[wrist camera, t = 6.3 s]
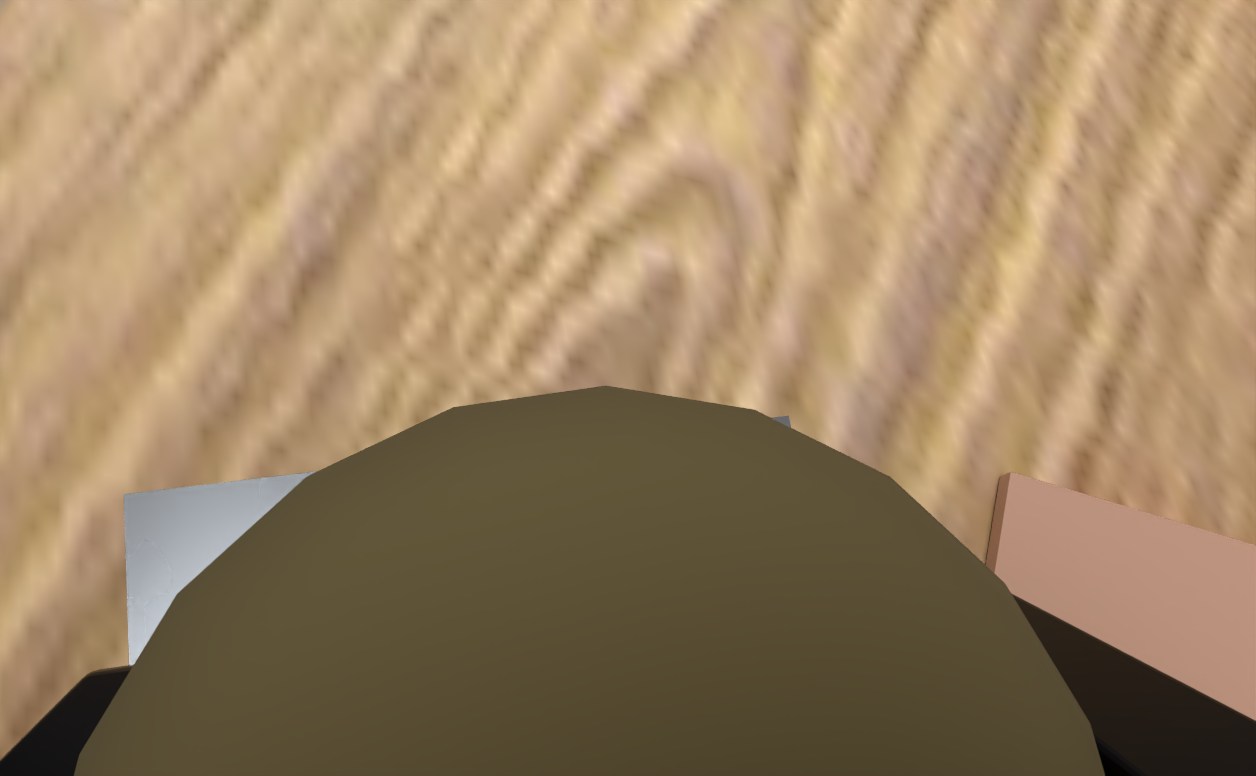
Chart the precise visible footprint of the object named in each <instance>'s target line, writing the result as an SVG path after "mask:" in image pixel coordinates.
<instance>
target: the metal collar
mask: <svg viewBox="0 0 1256 776" xmlns="http://www.w3.org/2000/svg"><path fill="white" fill-rule="evenodd" d="M772 419H774V420H776V421H778V422H780V423H782V424H784V425H786V426H788V427H790V428H791V426H790V421H789V416H784V417H775V418H772ZM317 472H318V471H317ZM313 473H315V472H309V473H300V474H292V475H283V476H275V477H266V478H258V479H249V480H241V481H232V482H224V483H215V484H207V485H198V486H190V487H181V488H173V489H164V490H156V491H147V492H139V493H131V494H124V514H125V546H126V578H127V610H128V642H129V665H134V664H135V662H136V660H137V659H138V657H139V655H140V654H141V652H142V651H143V649H144V647H145V646H146V644H147V642H148V641H149V639H150V637H151V636H152V634H153V632H154V631H155V629H156V628H157V626H158V624H159V623H160V621H161V619H162V618H163V616H164V614H165V613H166V611H167V609H168V608H169V606H170V604H171V603H172V601H173V600H174V598H175V596H176V595H177V593H178V592H180V591H181V590H182V589H183V588H184V587H185V586H186V585H187V584H188V583H189V582H191V581H192V580H193V579H194V578H195V577H196V576H197V575H198V574H199V573H201V572H202V571H203V570H204V569H205V568H206V567H207V566H208V565H209V564H210V563H212V562H213V561H214V560H215V559H216V558H217V557H218V556H219V555H220V554H222V553H223V552H224V551H225V550H226V549H227V548H228V547H229V546H230V545H231V544H233V543H234V542H235V541H236V540H237V539H238V538H239V537H240V536H241V535H243V534H244V533H245V532H246V531H247V530H248V529H249V528H250V527H251V526H252V525H254V524H255V523H256V522H257V521H258V520H259V519H260V518H261V517H262V516H264V515H265V514H266V513H267V512H268V511H269V510H270V509H271V508H272V507H273V506H275V505H276V504H277V503H278V502H279V501H280V500H281V499H282V498H283V497H285V496H286V495H287V494H288V493H289V492H290V491H291V490H292V489H293V488H294V487H296V486H297V485H298V484H299V483H300V482H301V481H302V480H303V479H304V478H306V477H307V476H309V475H311V474H313Z"/></svg>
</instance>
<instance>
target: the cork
mask: <svg viewBox="0 0 1256 776" xmlns="http://www.w3.org/2000/svg"><path fill="white" fill-rule="evenodd" d="M74 776H1105V773H1104V770H1103V766H1102V763H1101V759H1100V756H1099V752H1098V749H1097V745H1096V742H1095V738H1094V735H1093V731H1092V728H1091V724H1090V722H1089V720H1088V719H1087V717H1086V715H1085V714H1084V712H1083V711H1082V709H1081V707H1080V706H1079V704H1078V702H1077V701H1076V699H1075V697H1074V696H1073V694H1072V692H1071V691H1070V689H1069V688H1068V686H1067V684H1066V683H1065V681H1064V679H1063V678H1062V676H1061V674H1060V673H1059V671H1058V669H1057V668H1056V666H1055V665H1054V663H1053V661H1052V660H1051V658H1050V656H1049V655H1048V653H1047V651H1046V650H1045V648H1044V646H1043V645H1042V643H1041V642H1040V640H1039V638H1038V637H1037V635H1036V633H1035V632H1034V630H1033V628H1032V627H1031V625H1030V624H1029V622H1028V620H1027V619H1026V617H1025V615H1024V614H1023V612H1022V610H1021V609H1020V607H1019V605H1018V604H1017V602H1016V601H1015V599H1014V597H1013V596H1012V594H1011V592H1010V591H1009V589H1008V587H1007V586H1006V584H1005V583H1004V582H1003V581H1002V580H1001V579H1000V578H999V577H998V576H997V575H996V574H995V573H993V572H992V571H991V570H990V569H989V568H988V567H987V566H986V565H985V564H984V563H983V562H982V561H981V560H979V559H978V558H977V557H976V556H975V555H974V554H973V553H972V552H971V551H970V550H969V549H968V548H966V547H965V546H964V545H963V544H962V543H961V542H960V541H959V540H958V539H957V538H956V537H955V536H954V535H952V534H951V533H950V532H949V531H948V530H947V529H946V528H945V527H944V526H943V525H942V524H941V523H939V522H938V521H937V520H936V519H935V518H934V517H933V516H932V515H931V514H930V513H929V512H928V511H927V510H925V509H924V508H923V507H922V506H921V505H920V504H919V503H918V502H917V501H916V500H915V499H914V498H912V497H911V496H910V495H909V494H908V493H907V492H906V491H905V490H904V489H903V488H902V487H901V486H900V485H898V484H897V483H896V482H895V481H894V480H893V479H892V478H891V477H889V476H887V475H885V474H883V473H881V472H879V471H877V470H875V469H873V468H871V467H869V466H867V465H865V464H863V463H861V462H859V461H857V460H855V459H853V458H851V457H849V456H847V455H845V454H843V453H841V452H839V451H837V450H835V449H833V448H831V447H829V446H827V445H825V444H823V443H821V442H819V441H816V440H814V439H812V438H810V437H808V436H806V435H804V434H802V433H800V432H798V431H796V430H794V429H792V428H790V427H788V426H786V425H784V424H782V423H780V422H778V421H776V420H774V419H772V418H770V417H768V416H766V415H764V414H762V413H760V412H758V411H756V410H752V409H746V408H740V407H733V406H727V405H721V404H715V403H709V402H703V401H697V400H690V399H684V398H678V397H672V396H666V395H660V394H654V393H647V392H641V391H635V390H629V389H623V388H617V387H610V386H601V387H594V388H587V389H580V390H573V391H566V392H559V393H552V394H545V395H538V396H530V397H523V398H516V399H509V400H502V401H495V402H488V403H481V404H474V405H467V406H460V407H453V408H451V409H449V410H447V411H445V412H443V413H440V414H438V415H436V416H434V417H432V418H430V419H428V420H426V421H424V422H421V423H419V424H417V425H415V426H413V427H411V428H409V429H407V430H404V431H402V432H400V433H398V434H396V435H394V436H392V437H390V438H387V439H385V440H383V441H381V442H379V443H377V444H375V445H373V446H371V447H368V448H366V449H364V450H362V451H360V452H358V453H356V454H354V455H351V456H349V457H347V458H345V459H343V460H341V461H339V462H337V463H335V464H332V465H330V466H328V467H326V468H324V469H322V470H320V471H318V472H315V473H313V474H311V475H309V476H307V477H306V478H304V479H303V480H302V481H301V482H300V483H299V484H298V485H297V486H296V487H294V488H293V489H292V490H291V491H290V492H289V493H288V494H287V495H286V496H285V497H283V498H282V499H281V500H280V501H279V502H278V503H277V504H276V505H275V506H273V507H272V508H271V509H270V510H269V511H268V512H267V513H266V514H265V515H264V516H262V517H261V518H260V519H259V520H258V521H257V522H256V523H255V524H254V525H252V526H251V527H250V528H249V529H248V530H247V531H246V532H245V533H244V534H243V535H241V536H240V537H239V538H238V539H237V540H236V541H235V542H234V543H233V544H231V545H230V546H229V547H228V548H227V549H226V550H225V551H224V552H223V553H222V554H220V555H219V556H218V557H217V558H216V559H215V560H214V561H213V562H212V563H210V564H209V565H208V566H207V567H206V568H205V569H204V570H203V571H202V572H201V573H199V574H198V575H197V576H196V577H195V578H194V579H193V580H192V581H191V582H189V583H188V584H187V585H186V586H185V587H184V588H183V589H182V590H181V591H180V592H178V593H177V595H176V596H175V598H174V600H173V601H172V603H171V604H170V606H169V608H168V609H167V611H166V613H165V614H164V616H163V618H162V619H161V621H160V623H159V624H158V626H157V628H156V629H155V631H154V632H153V634H152V636H151V637H150V639H149V641H148V642H147V644H146V646H145V647H144V649H143V651H142V652H141V654H140V655H139V657H138V659H137V660H136V662H135V664H134V665H133V667H132V669H131V670H130V672H129V674H128V675H127V677H126V679H125V680H124V682H123V683H122V685H121V687H120V688H119V690H118V692H117V693H116V695H115V697H114V698H113V700H112V702H111V703H110V705H109V706H108V708H107V710H106V711H105V713H104V715H103V716H102V718H101V720H100V721H99V723H98V725H97V726H96V728H95V729H94V731H93V733H92V734H91V736H90V738H89V739H88V741H87V743H86V744H85V746H84V748H83V749H82V751H81V753H80V754H79V758H78V761H77V765H76V769H75V773H74Z"/></svg>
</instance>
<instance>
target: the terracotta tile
mask: <svg viewBox="0 0 1256 776" xmlns="http://www.w3.org/2000/svg"><path fill="white" fill-rule="evenodd" d="M986 566H987V567H988V568H989V569H990V570H991V571H992V572H993V573H995V574H996V575H997V576H998V577H999V578H1000V579H1001V580H1002V581H1003V582H1004V583H1005V584H1006V586H1007V587H1008V589H1009V591H1010V592H1011V593H1012V594H1014V595H1016V596H1018V597H1019V598H1021V599H1023V600H1025V601H1027V602H1029V603H1031V604H1033V605H1035V606H1037V607H1039V608H1041V609H1042V610H1044V611H1046V612H1048V613H1050V614H1052V615H1054V616H1056V617H1058V618H1060V619H1062V620H1064V621H1066V622H1067V623H1069V624H1071V625H1073V626H1075V627H1077V628H1079V629H1081V630H1083V631H1085V632H1087V633H1089V634H1090V635H1092V636H1094V637H1096V638H1098V639H1100V640H1102V641H1104V642H1106V643H1108V644H1110V645H1112V646H1114V647H1115V648H1117V649H1119V650H1121V651H1123V652H1125V653H1127V654H1129V655H1131V656H1133V657H1135V658H1137V659H1138V660H1140V661H1142V662H1144V663H1146V664H1148V665H1150V666H1152V667H1154V668H1156V669H1158V670H1160V671H1162V672H1163V673H1165V674H1167V675H1169V676H1171V677H1173V678H1175V679H1177V680H1179V681H1181V682H1183V683H1185V684H1187V685H1188V686H1190V687H1192V688H1194V689H1196V690H1198V691H1200V692H1202V693H1204V694H1206V695H1208V696H1210V697H1211V698H1213V699H1215V700H1217V701H1219V702H1221V703H1223V704H1225V705H1227V706H1229V707H1231V708H1233V709H1235V710H1236V711H1238V712H1240V713H1242V714H1244V715H1246V716H1248V717H1250V718H1252V719H1254V720H1256V545H1253V544H1250V543H1246V542H1243V541H1240V540H1236V539H1233V538H1230V537H1226V536H1223V535H1220V534H1216V533H1213V532H1210V531H1206V530H1203V529H1200V528H1196V527H1193V526H1190V525H1186V524H1183V523H1180V522H1176V521H1173V520H1170V519H1166V518H1163V517H1160V516H1156V515H1153V514H1150V513H1146V512H1143V511H1140V510H1136V509H1133V508H1130V507H1126V506H1123V505H1120V504H1116V503H1113V502H1110V501H1106V500H1103V499H1100V498H1096V497H1093V496H1090V495H1086V494H1083V493H1080V492H1076V491H1073V490H1070V489H1066V488H1063V487H1060V486H1056V485H1053V484H1050V483H1046V482H1043V481H1040V480H1036V479H1033V478H1030V477H1026V476H1023V475H1020V474H1016V473H1013V472H1009V473H1008V474H1006V475H1004V476H1002V477H1000V479H999V485H998V491H997V498H996V504H995V510H994V516H993V522H992V528H991V535H990V541H989V547H988V553H987V559H986Z"/></svg>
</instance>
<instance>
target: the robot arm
mask: <svg viewBox="0 0 1256 776" xmlns="http://www.w3.org/2000/svg"><path fill="white" fill-rule="evenodd" d="M1011 594H1012V593H1011ZM1012 596H1013V597H1014V599H1015V601H1016V602H1017V604H1018V605H1019V607H1020V609H1021V610H1022V612H1023V614H1024V615H1025V617H1026V619H1027V620H1028V622H1029V624H1030V625H1031V627H1032V628H1033V630H1034V632H1035V633H1036V635H1037V637H1038V638H1039V640H1040V642H1041V643H1042V645H1043V646H1044V648H1045V650H1046V651H1047V653H1048V655H1049V656H1050V658H1051V660H1052V661H1053V663H1054V665H1055V666H1056V668H1057V669H1058V671H1059V673H1060V674H1061V676H1062V678H1063V679H1064V681H1065V683H1066V684H1067V686H1068V688H1069V689H1070V691H1071V692H1072V694H1073V696H1074V697H1075V699H1076V701H1077V702H1078V704H1079V706H1080V707H1081V709H1082V711H1083V712H1084V714H1085V715H1086V717H1087V719H1088V720H1089V722H1090V724H1091V728H1092V731H1093V735H1094V738H1095V742H1096V745H1097V749H1098V752H1099V756H1100V759H1101V763H1102V766H1103V770H1104V773H1105V776H1256V720H1254V719H1252V718H1250V717H1248V716H1246V715H1244V714H1242V713H1240V712H1238V711H1236V710H1235V709H1233V708H1231V707H1229V706H1227V705H1225V704H1223V703H1221V702H1219V701H1217V700H1215V699H1213V698H1211V697H1210V696H1208V695H1206V694H1204V693H1202V692H1200V691H1198V690H1196V689H1194V688H1192V687H1190V686H1188V685H1187V684H1185V683H1183V682H1181V681H1179V680H1177V679H1175V678H1173V677H1171V676H1169V675H1167V674H1165V673H1163V672H1162V671H1160V670H1158V669H1156V668H1154V667H1152V666H1150V665H1148V664H1146V663H1144V662H1142V661H1140V660H1138V659H1137V658H1135V657H1133V656H1131V655H1129V654H1127V653H1125V652H1123V651H1121V650H1119V649H1117V648H1115V647H1114V646H1112V645H1110V644H1108V643H1106V642H1104V641H1102V640H1100V639H1098V638H1096V637H1094V636H1092V635H1090V634H1089V633H1087V632H1085V631H1083V630H1081V629H1079V628H1077V627H1075V626H1073V625H1071V624H1069V623H1067V622H1066V621H1064V620H1062V619H1060V618H1058V617H1056V616H1054V615H1052V614H1050V613H1048V612H1046V611H1044V610H1042V609H1041V608H1039V607H1037V606H1035V605H1033V604H1031V603H1029V602H1027V601H1025V600H1023V599H1021V598H1019V597H1018V596H1016V595H1014V594H1012ZM132 667H133V665H128V666H121V667H114V668H107V669H100V670H96V671H93V672H91V673H89V674H87V675H86V676H85V677H84V678H82V679H81V680H80V681H79V682H78V683H77V684H76V685H75V686H74V687H73V688H72V689H71V690H70V691H69V692H68V693H67V694H66V695H65V696H64V697H63V698H62V699H61V700H60V701H59V702H58V703H57V704H56V705H55V706H54V707H53V708H52V709H51V710H50V711H49V712H48V713H47V714H46V715H45V716H44V717H43V718H42V719H41V720H40V721H39V722H38V723H37V724H36V725H35V726H34V727H33V728H32V729H31V730H30V731H29V732H28V733H27V734H26V735H25V736H24V737H23V738H22V739H21V740H20V741H19V742H18V743H17V744H16V745H15V746H14V747H13V748H12V749H11V750H10V751H9V752H8V753H7V754H6V755H5V756H4V757H3V758H2V759H1V760H0V776H74V773H75V769H76V765H77V761H78V758H79V754H80V753H81V751H82V749H83V748H84V746H85V744H86V743H87V741H88V739H89V738H90V736H91V734H92V733H93V731H94V729H95V728H96V726H97V725H98V723H99V721H100V720H101V718H102V716H103V715H104V713H105V711H106V710H107V708H108V706H109V705H110V703H111V702H112V700H113V698H114V697H115V695H116V693H117V692H118V690H119V688H120V687H121V685H122V683H123V682H124V680H125V679H126V677H127V675H128V674H129V672H130V670H131V669H132Z"/></svg>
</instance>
